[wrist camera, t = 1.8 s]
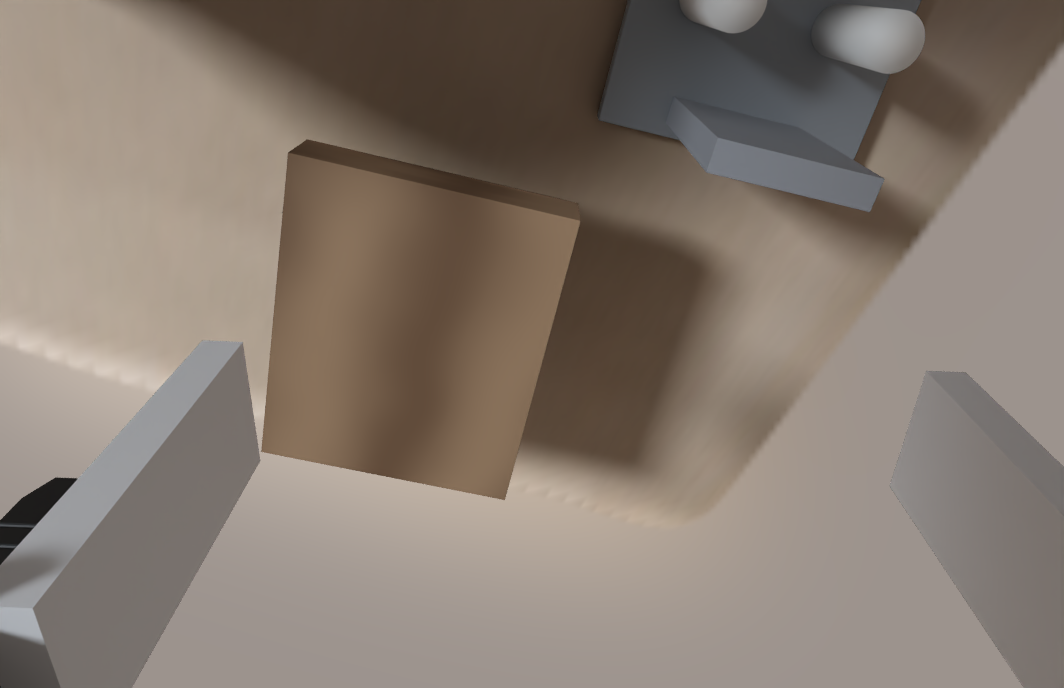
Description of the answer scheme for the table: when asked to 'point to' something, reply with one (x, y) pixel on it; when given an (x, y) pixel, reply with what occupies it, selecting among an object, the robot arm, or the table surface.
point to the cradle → (764, 85)
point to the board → (410, 318)
